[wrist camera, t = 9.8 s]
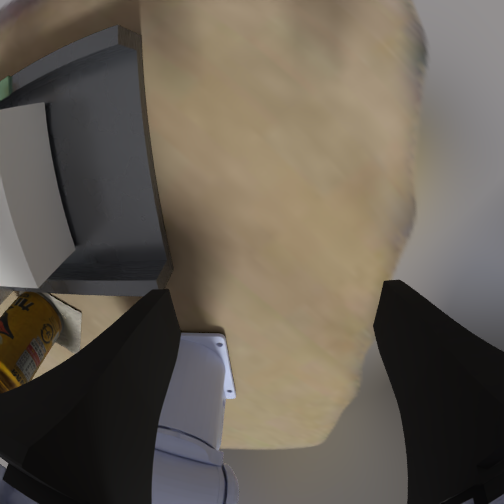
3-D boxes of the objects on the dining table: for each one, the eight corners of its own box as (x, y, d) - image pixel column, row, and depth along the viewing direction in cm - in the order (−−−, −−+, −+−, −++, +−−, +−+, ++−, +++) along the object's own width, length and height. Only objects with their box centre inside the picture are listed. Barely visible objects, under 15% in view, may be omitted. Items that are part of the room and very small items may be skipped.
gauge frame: (173, 269, 20) (146, 326, 15) (15, 271, 21) (-20, 306, 16) (141, 34, 12) (89, 11, 7) (-24, 114, 13) (-72, 130, 8)
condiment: (18, 273, 21) (-52, 352, 11) (82, 312, 23) (21, 413, 12) (23, 319, 24) (-28, 392, 14) (80, 353, 26) (37, 440, 15)
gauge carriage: (75, 249, 18) (38, 288, 14) (27, 252, 19) (-8, 285, 14) (42, 69, 12) (-10, 71, 7) (-6, 98, 12) (-52, 108, 8)
